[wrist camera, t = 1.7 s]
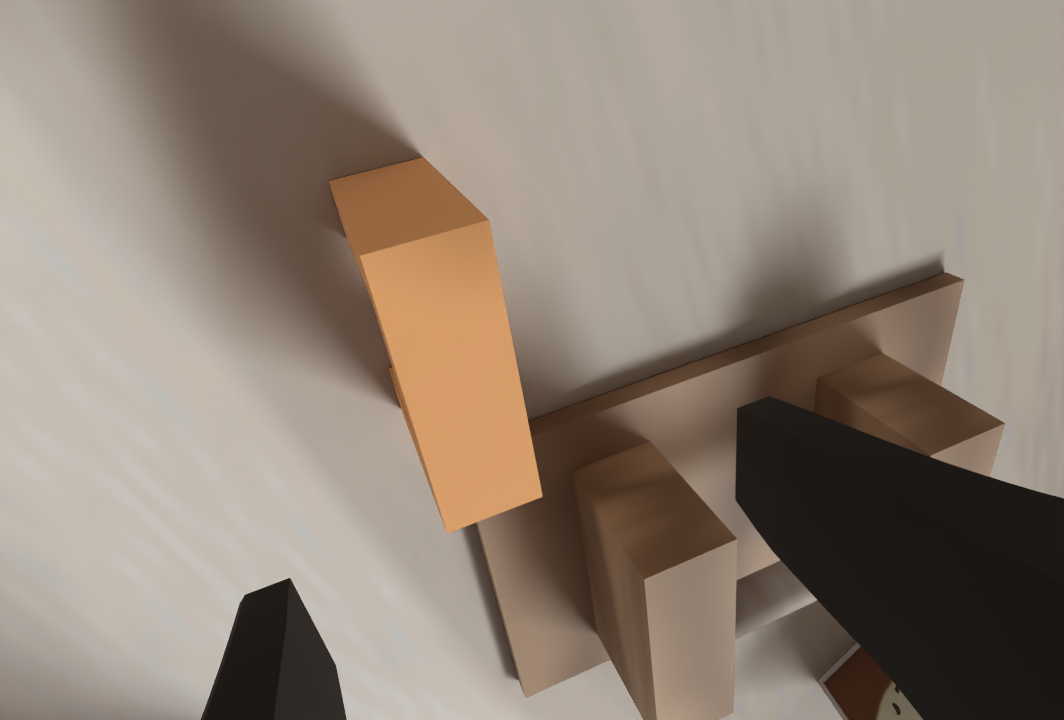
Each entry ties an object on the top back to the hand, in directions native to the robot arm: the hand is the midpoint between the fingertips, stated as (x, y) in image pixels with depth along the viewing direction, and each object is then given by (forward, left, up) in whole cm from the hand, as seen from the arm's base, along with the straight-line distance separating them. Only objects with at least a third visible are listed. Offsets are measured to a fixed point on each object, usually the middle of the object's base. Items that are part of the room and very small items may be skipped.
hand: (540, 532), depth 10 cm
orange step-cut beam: (0, 0, -10) cm, 10 cm away
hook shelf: (+10, -12, -10) cm, 18 cm away
